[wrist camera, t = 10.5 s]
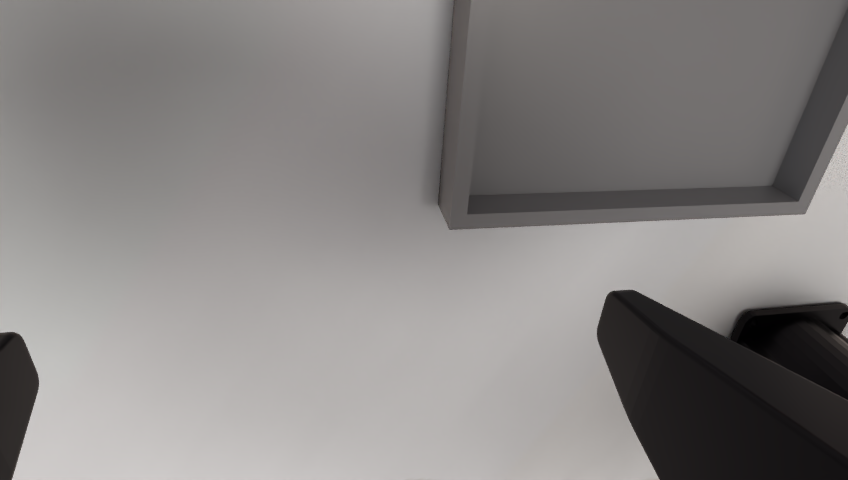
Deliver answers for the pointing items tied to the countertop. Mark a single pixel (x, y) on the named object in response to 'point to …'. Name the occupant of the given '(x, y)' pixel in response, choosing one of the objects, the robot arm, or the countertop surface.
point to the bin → (640, 109)
